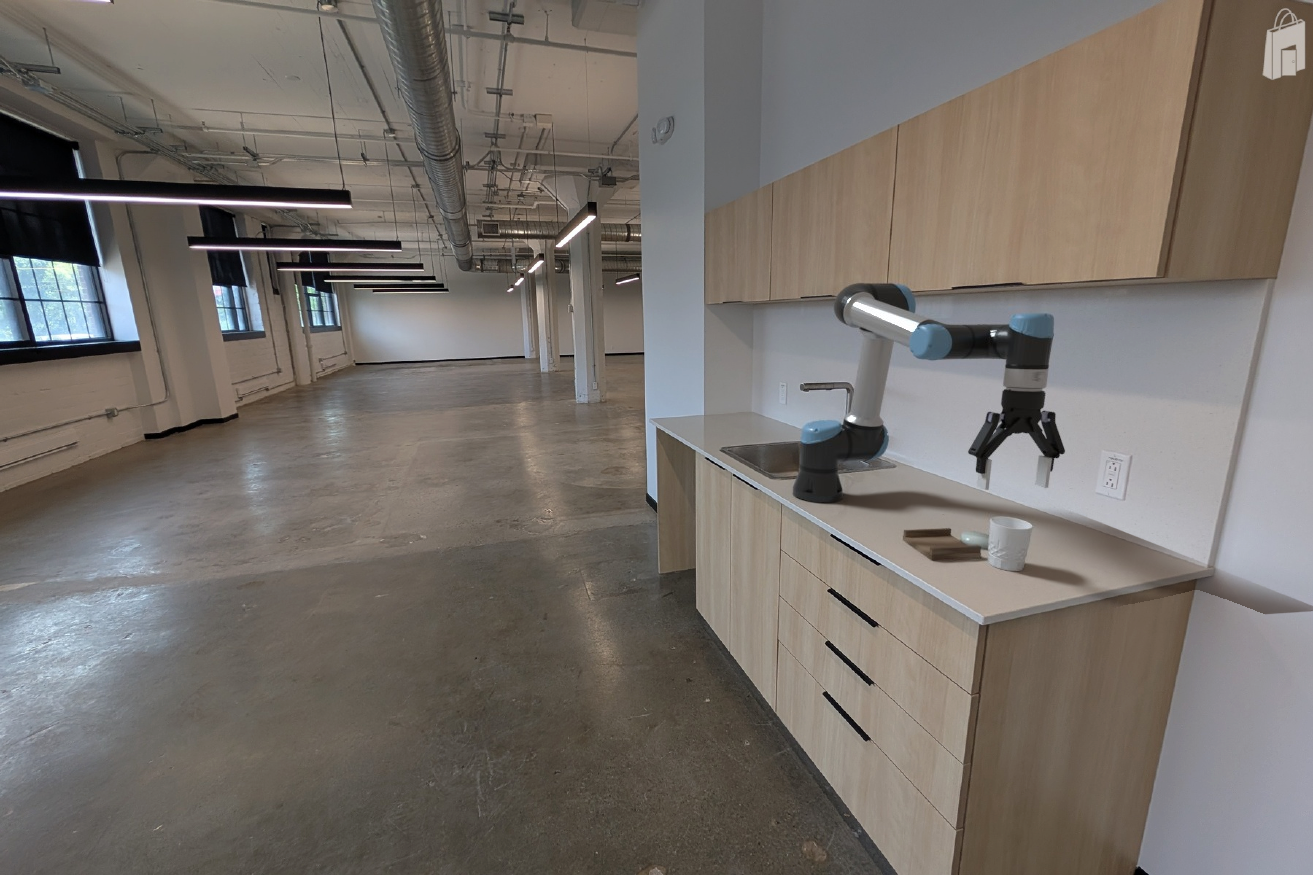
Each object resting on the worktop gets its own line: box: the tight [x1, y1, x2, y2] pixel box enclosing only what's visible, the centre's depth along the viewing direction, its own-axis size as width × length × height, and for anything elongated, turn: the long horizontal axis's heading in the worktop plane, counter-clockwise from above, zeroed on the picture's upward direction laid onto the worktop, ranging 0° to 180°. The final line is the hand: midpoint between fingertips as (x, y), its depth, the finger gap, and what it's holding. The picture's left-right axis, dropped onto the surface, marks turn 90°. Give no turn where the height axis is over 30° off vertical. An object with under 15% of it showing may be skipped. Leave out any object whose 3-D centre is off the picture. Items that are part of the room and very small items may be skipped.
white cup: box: [987, 516, 1034, 572], centre depth 120 cm, size 8×8×10 cm
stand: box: [902, 527, 982, 561], centre depth 129 cm, size 12×12×3 cm
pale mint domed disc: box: [960, 530, 989, 550], centre depth 132 cm, size 7×7×2 cm
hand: (1012, 487), depth 117 cm, fingers open, 13 cm apart
